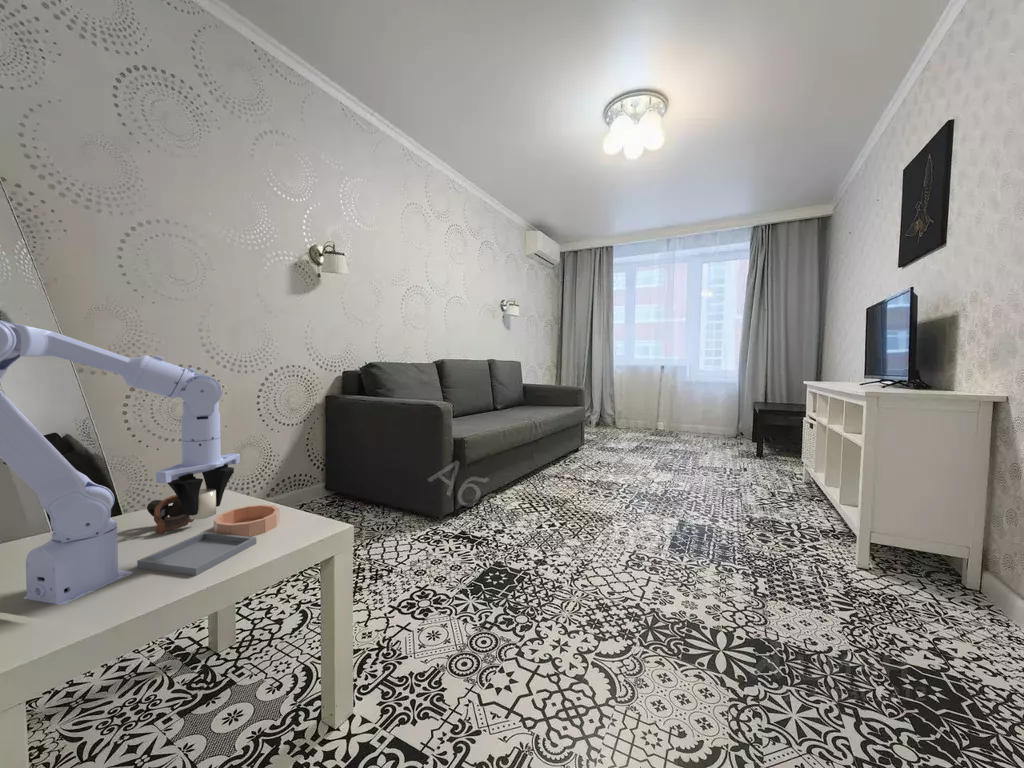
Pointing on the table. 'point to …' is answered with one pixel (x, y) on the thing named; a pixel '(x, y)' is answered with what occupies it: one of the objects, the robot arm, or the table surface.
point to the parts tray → (197, 553)
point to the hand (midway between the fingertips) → (202, 510)
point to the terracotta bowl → (247, 520)
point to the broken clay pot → (162, 511)
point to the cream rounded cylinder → (206, 504)
